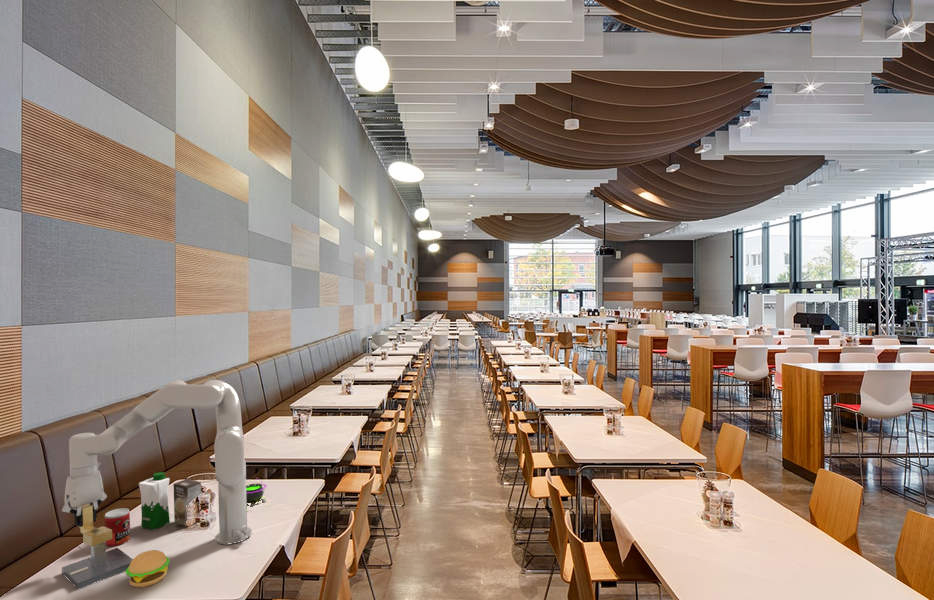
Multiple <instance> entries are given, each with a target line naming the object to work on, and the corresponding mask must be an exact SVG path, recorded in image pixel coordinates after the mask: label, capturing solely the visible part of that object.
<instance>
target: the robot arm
mask: <svg viewBox="0 0 934 600" xmlns="http://www.w3.org/2000/svg"><path fill="white" fill-rule="evenodd" d="M213 408H215V418H216V436H215V440H214V448H213V449H214V467H215V468H214V469H215V477H216V478H215V479H216V481H217V482H218V483H217V485H218V486H217V487H218V489H217V490H218V491H217V492H218V495H217V496H218V499H217V500H218V521H219V523H218V526H219V528H218V529H219V530H218V531H219V532H218V533H217V534H216V535H215V537H214V542H215V541H216V542H217V543H216V542H215V543H216V544H218V543H221V544H228V543H234V542H238V541H241V540H244V539H246V538H247V539H249V538H250V537H251V536H252V534H251V533H253V531H252V528H251V527H248V511H247V502H246V485H247V482H246V481H247V464H246V463H247V462H246V459H245V449H244V448H245V447H244V444H245V443H244V442H245V441H244V440H245V439H244V438H245V436H244V431H243V422H242V411H241V401H240V398H239V396H238V393H237V391H236V390H235V388H234V387H233V386H231V385H230V384H228V383H226V382H225V381H222V380H219V379H210V380H207V381H206V382H204V383H203V384H188V383H186V382H185V381H183V380H181V379H173V380H172V381H170V382H168V383H166V384H165V385H164V386H162V387H161V388H160V389H159V390H156V392H154V393H153V394H152V395H149V397H147V398H146V399H144V400H143V401H142V402H140V403H139V404H137V405H136V406H135V407H134V408H133V409H132V410H131V411H130V412H128V413H127V414H126V415H124V416H123V417H122V418H120V419H119V420H117V421H116V422H115V423H114V424H112V425H110V426H109V427H108V428H106V429H105V430H103V432H102V433H99V434H96V433H94V432H82V433H77V434H74V435H72V436H70V438H69V440H68V447H69V448H68V450H69V451H68V453H69V476H67V478H66V483H65V488H64V505H63V506H62V509H61V512H64V513H70V514H72V515H73V516H74V524H75V525H76V526H77V527H78V528H79V527H82V526H83V515H81V507H82V506H83V505H86V504H90V505H93V523H95V522H96V521H97V512H98V511H97V510H98V509H99V506H100V505H101V504H102V502H103V501H105V500H106V499H107V497H108V495H107V494H106V492H105V491H104V483H103V482H104V481H103V477H102V475H101V471H100V470H99V467H102V462H98V456H109V455H112V454H114V453H116V452H117V451H118V450H119V449H120V448H121V446H122V445H123V444H124V443H126V442H127V441H128V440H130V439H131V438H132V437H134V436H135V435H137V433H139V432H140V431H142V430H143V429H144V428H146V427H149V426H152V425H154V424H156V423H157V422H159V420H161V419H162V418H164V417H165V416H166V415H167V414H169V413H170V412H172V411H173V410H174V409H183V410H184V409H191V410H192V409H194V410H195V409H203V410H204V409H213ZM250 535H251V536H250ZM249 536H250V537H249ZM248 537H249V538H248ZM247 539H246V540H247ZM244 541H245V540H244ZM221 544H220V545H221Z"/></svg>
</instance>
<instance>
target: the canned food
mask: <svg viewBox="0 0 934 600" xmlns="http://www.w3.org/2000/svg"><path fill="white" fill-rule="evenodd" d="M130 513H131V511H130V509H129V508H126V507H125V508H124V507H122V508H115V509H112V510H110V511H107V512H106V513H105V514H104V527H106V528H109V529H111V530H112V539H111V540H108V541H105V546H107V547H108V546H109V547H116V545H117V546H120V545H124V544H125V542H126V543H128V542H129V541H128V540H131V517H130ZM123 543H124V544H123Z"/></svg>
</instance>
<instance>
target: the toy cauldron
mask: <svg viewBox="0 0 934 600" xmlns="http://www.w3.org/2000/svg"><path fill="white" fill-rule="evenodd" d="M250 478H251V477H250ZM250 478H248V480H246V483H248V481H249V482H251V480H249V479H250ZM256 480H259V478H258V477H256ZM266 488H267V485H266V483H263V481H261V482H257V483H250V484H249V483H248V484H246V502H247V503H251V505H250V507H253V506H255V505H259V504H261V503H257V504H255V503H256V502H259V501H261V500H262V503H265V502H267V501H266V499H265V498H263V499H262V497H264V494H265V493H264V492H265V491H266V490H265V489H266ZM260 499H261V500H260ZM247 506H249V505H248V504H247Z"/></svg>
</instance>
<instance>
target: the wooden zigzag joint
mask: <svg viewBox="0 0 934 600" xmlns="http://www.w3.org/2000/svg"><path fill="white" fill-rule="evenodd" d="M81 515H83V526H82V527H79V526H78V528H79V529H80V531H79V532H80V533H81V534H82V539H83V541H82V543H83V544H86V545H87V546H89V547H91V546H92V547H93V546H95V545H98V544H100V543H103V542H105V541H108V540H111V539H112V530H111V529H109V528H106V527H105V525H103V526H102V525H101V526H100V527H97V526H96V527H95V526H94V522H93V505H90V504H89V503H88V504H85V505H82V507H81ZM105 543H106V542H105Z"/></svg>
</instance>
